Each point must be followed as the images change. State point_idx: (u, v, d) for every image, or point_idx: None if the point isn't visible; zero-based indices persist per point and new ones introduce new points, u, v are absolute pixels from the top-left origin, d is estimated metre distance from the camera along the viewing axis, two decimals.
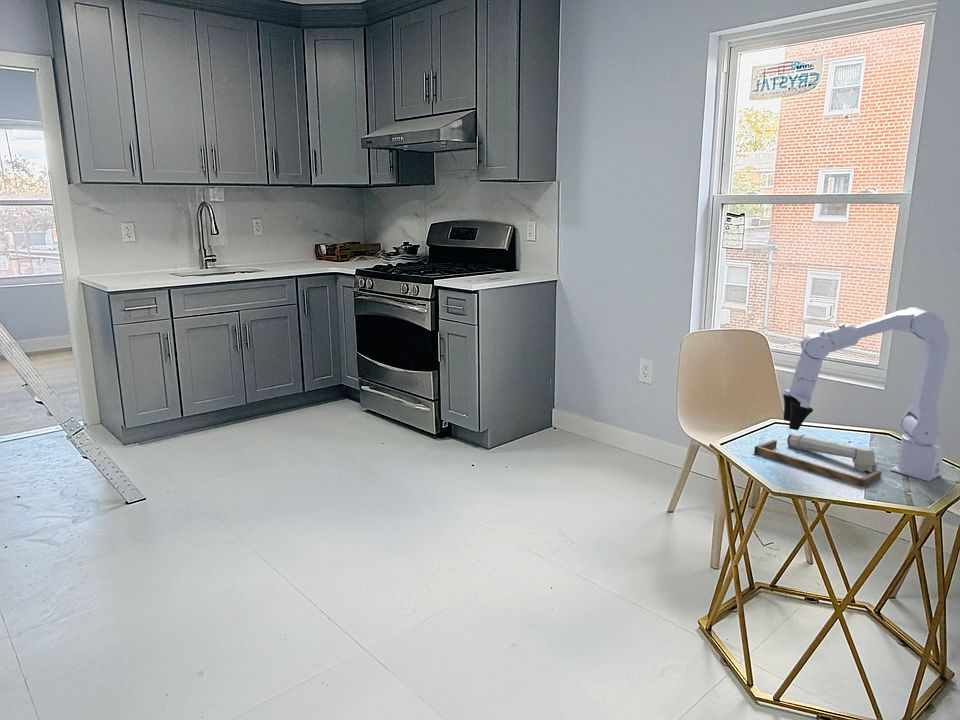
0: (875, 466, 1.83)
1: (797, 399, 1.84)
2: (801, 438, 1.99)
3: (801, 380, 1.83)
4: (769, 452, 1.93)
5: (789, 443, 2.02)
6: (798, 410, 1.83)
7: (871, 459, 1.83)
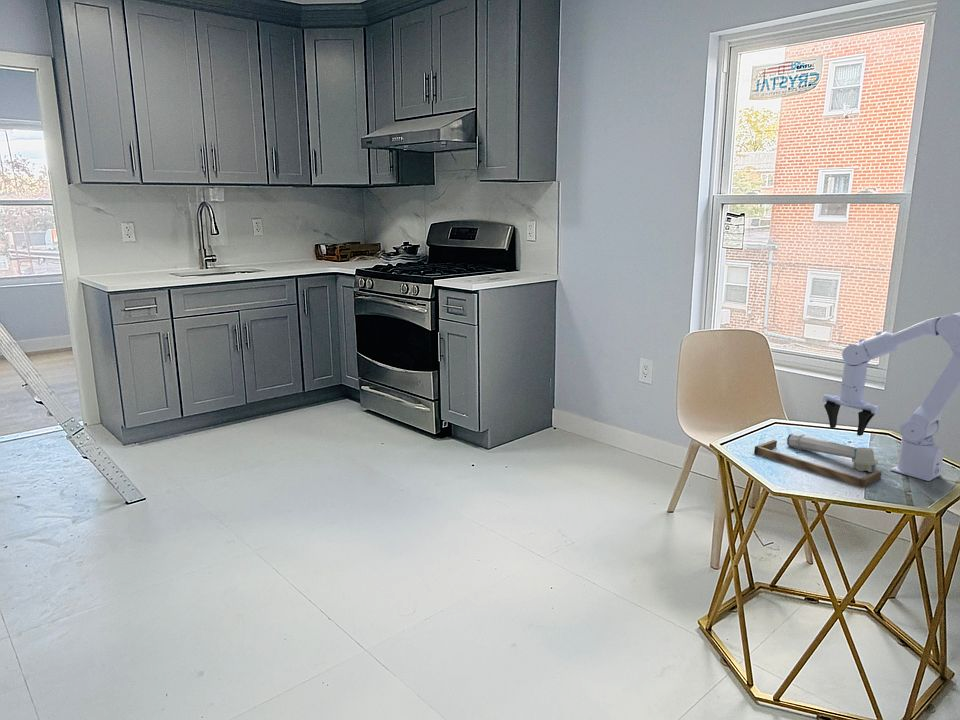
0: (874, 466, 1.83)
1: (859, 407, 1.92)
2: (801, 438, 1.99)
3: (859, 389, 1.91)
4: (769, 452, 1.93)
5: (789, 443, 2.02)
6: None
7: (871, 459, 1.83)
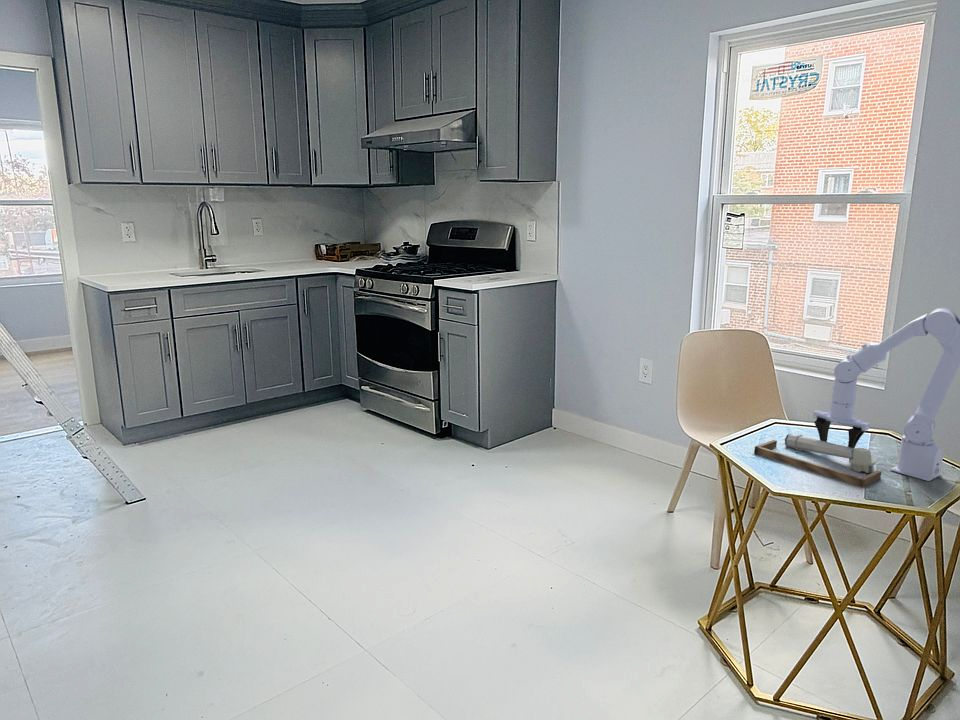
0: (871, 466, 1.83)
1: (849, 424, 1.90)
2: (798, 438, 1.99)
3: (849, 406, 1.89)
4: (769, 452, 1.93)
5: (786, 443, 2.02)
6: None
7: (868, 460, 1.82)
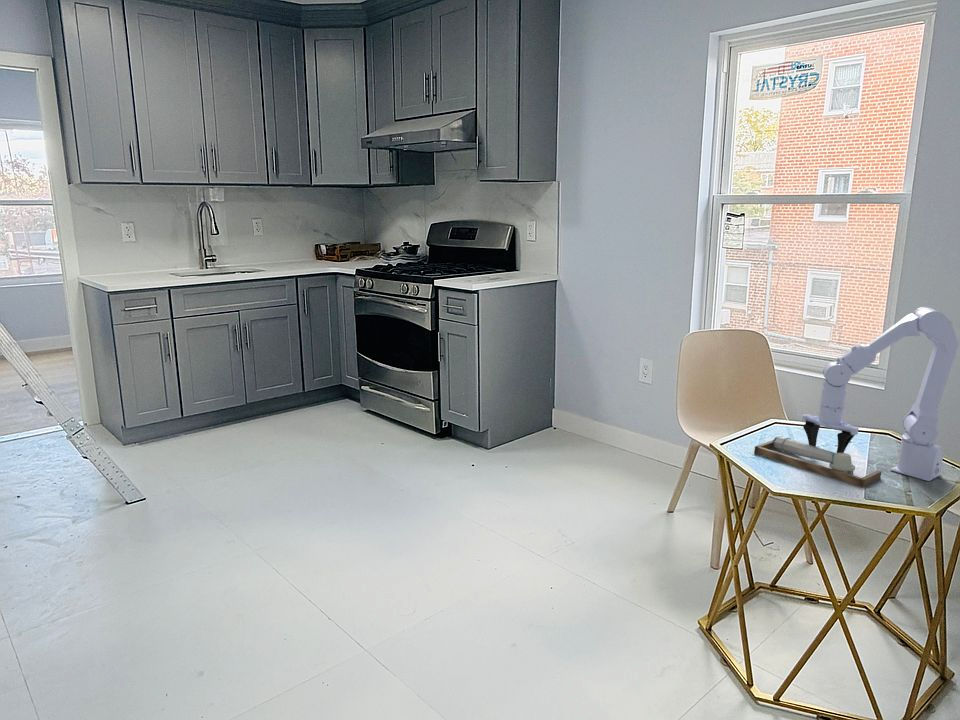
0: (851, 472, 1.79)
1: (838, 428, 1.86)
2: (785, 441, 1.97)
3: (838, 410, 1.85)
4: (769, 452, 1.93)
5: (774, 445, 2.00)
6: None
7: (847, 465, 1.79)
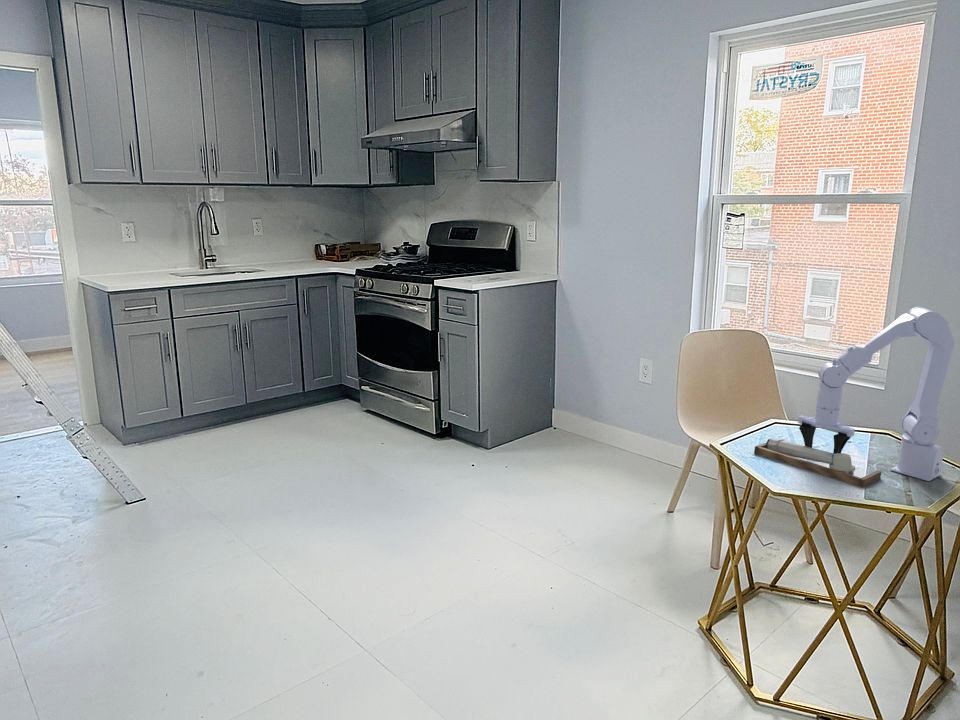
0: (852, 472, 1.78)
1: (834, 430, 1.85)
2: (779, 443, 1.95)
3: (834, 411, 1.84)
4: (769, 452, 1.93)
5: (767, 448, 1.98)
6: None
7: (848, 465, 1.78)
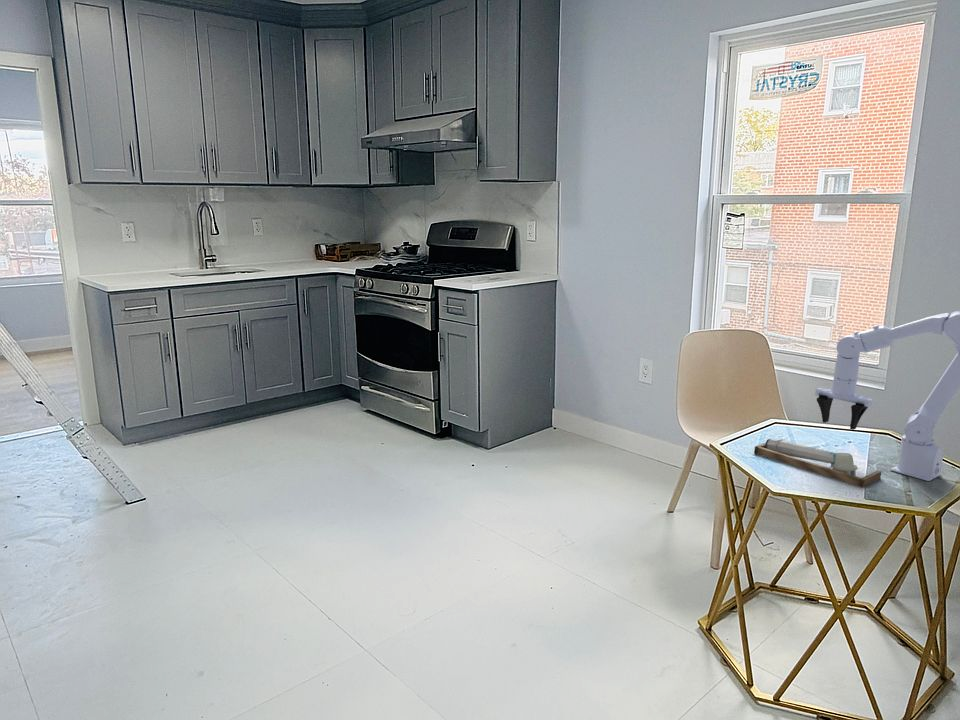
0: (854, 471, 1.79)
1: (851, 400, 1.88)
2: (779, 443, 1.95)
3: (852, 382, 1.87)
4: (769, 452, 1.93)
5: (767, 448, 1.98)
6: None
7: (850, 465, 1.79)
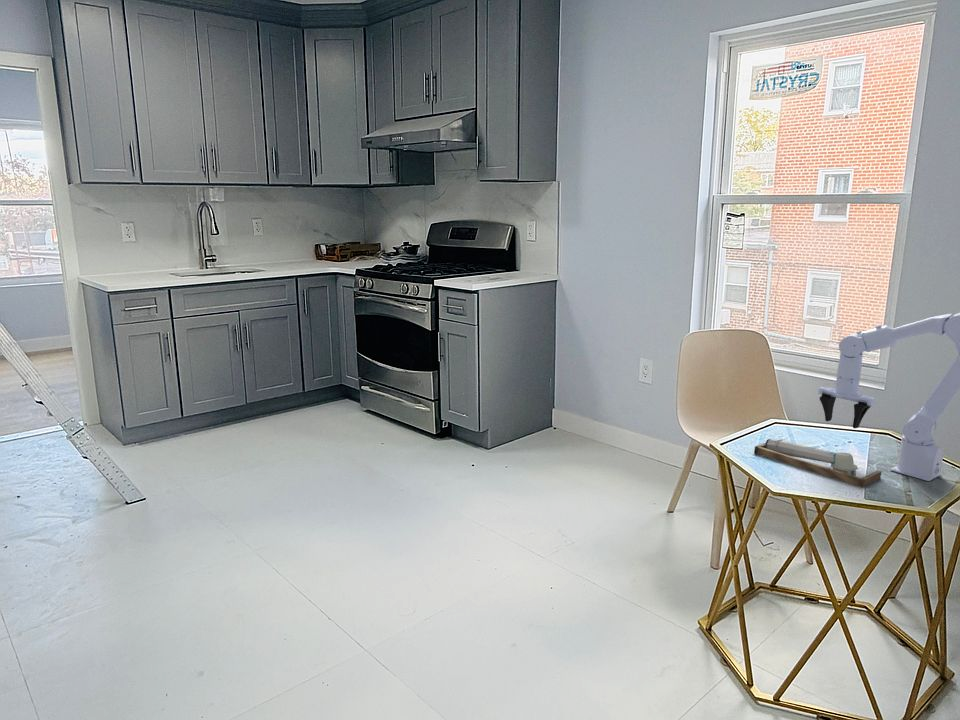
0: (854, 471, 1.79)
1: (854, 399, 1.89)
2: (779, 443, 1.95)
3: (854, 381, 1.88)
4: (769, 452, 1.93)
5: (767, 448, 1.98)
6: None
7: (850, 465, 1.79)
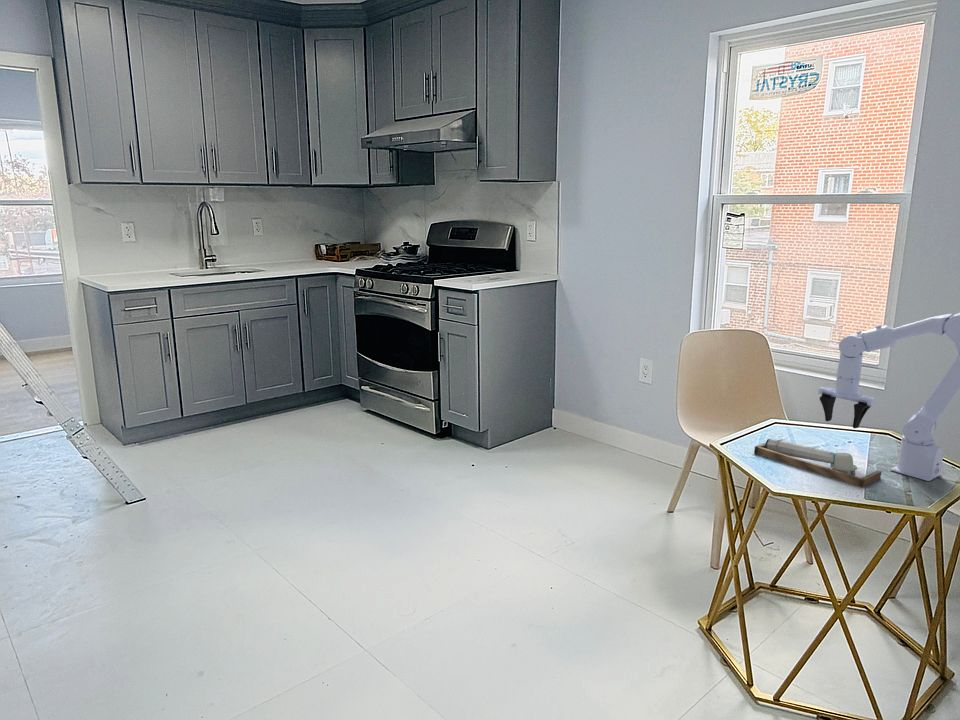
0: (853, 472, 1.79)
1: (854, 399, 1.89)
2: (779, 443, 1.95)
3: (854, 381, 1.88)
4: (769, 452, 1.93)
5: (767, 448, 1.98)
6: None
7: (850, 465, 1.79)
